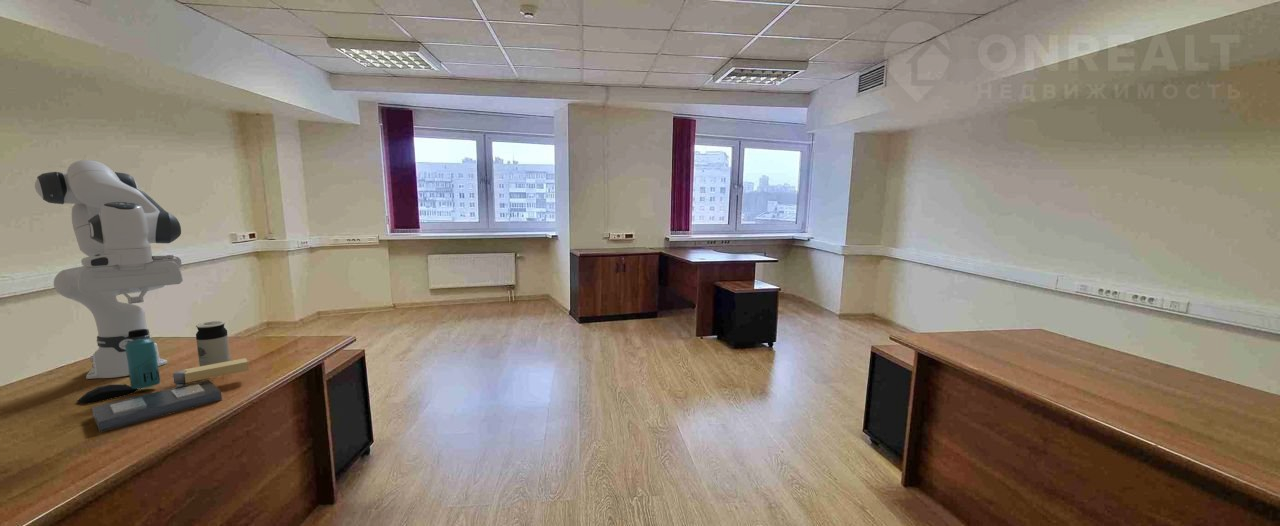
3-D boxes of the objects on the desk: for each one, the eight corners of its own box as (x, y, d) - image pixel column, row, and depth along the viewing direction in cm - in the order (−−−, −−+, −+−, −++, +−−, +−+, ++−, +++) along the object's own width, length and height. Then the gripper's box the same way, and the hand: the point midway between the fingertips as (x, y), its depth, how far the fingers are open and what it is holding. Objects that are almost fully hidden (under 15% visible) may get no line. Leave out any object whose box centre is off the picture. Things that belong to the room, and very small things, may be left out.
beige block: (174, 384, 135) (173, 375, 134) (173, 380, 138) (172, 371, 138) (248, 370, 148) (247, 361, 147) (246, 366, 151) (245, 358, 151)
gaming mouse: (152, 390, 140) (151, 379, 139) (78, 407, 128) (76, 395, 127) (149, 385, 143) (147, 374, 143) (76, 401, 131) (74, 389, 131)
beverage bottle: (143, 393, 135) (134, 331, 134) (124, 393, 136) (115, 332, 134) (167, 385, 142) (159, 326, 140) (149, 386, 142) (140, 327, 141)
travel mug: (226, 365, 161) (221, 319, 158) (234, 370, 157) (229, 322, 154) (197, 372, 154) (191, 324, 151) (204, 377, 150) (199, 328, 148)
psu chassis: (92, 413, 124) (90, 402, 123) (207, 385, 144) (206, 375, 143) (99, 432, 114) (98, 420, 114) (221, 399, 134) (220, 389, 134)
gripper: (177, 253, 137) (183, 295, 139) (72, 259, 120) (80, 307, 122) (182, 255, 133) (187, 298, 135) (74, 261, 117) (82, 310, 119)
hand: (136, 302), depth 129 cm, fingers closed
